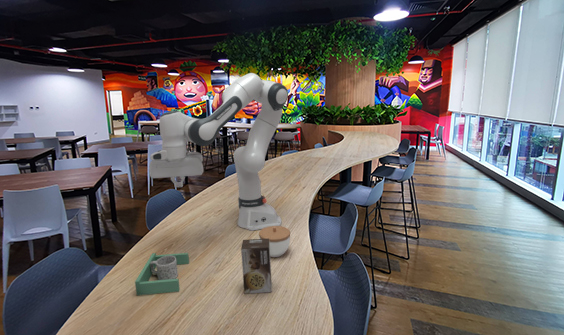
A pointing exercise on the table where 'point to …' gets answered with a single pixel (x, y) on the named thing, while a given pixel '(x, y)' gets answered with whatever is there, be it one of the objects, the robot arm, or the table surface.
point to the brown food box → (256, 265)
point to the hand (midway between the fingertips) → (179, 186)
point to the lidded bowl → (276, 239)
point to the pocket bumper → (160, 285)
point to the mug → (165, 268)
